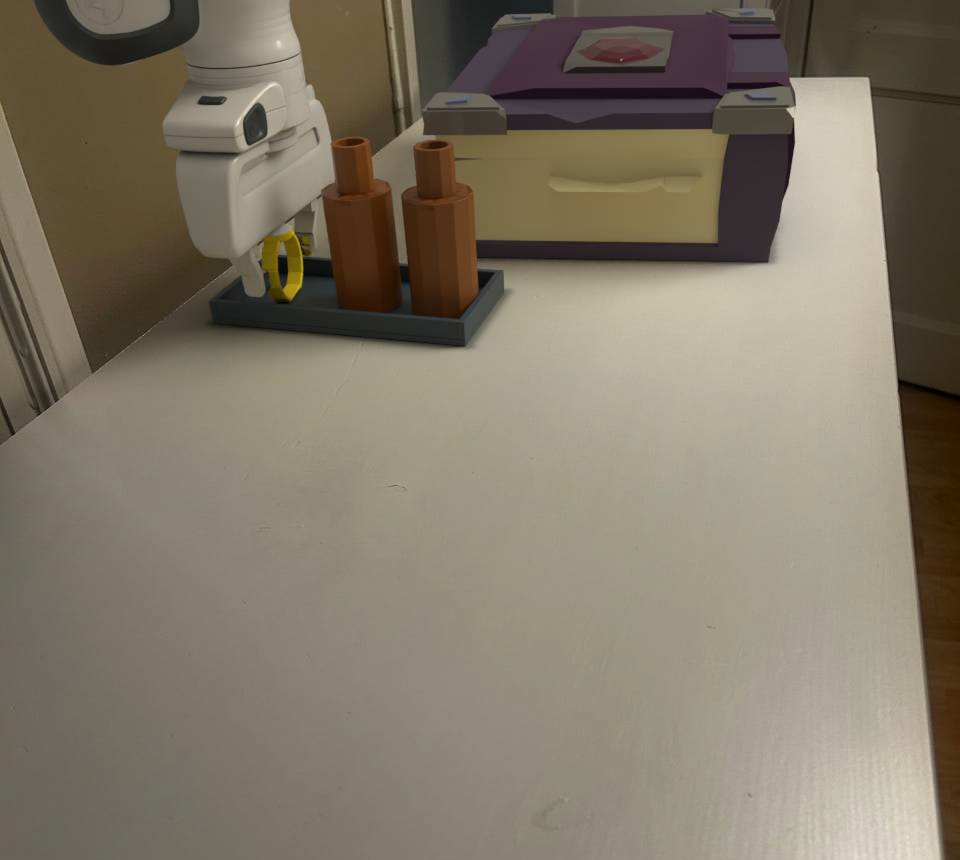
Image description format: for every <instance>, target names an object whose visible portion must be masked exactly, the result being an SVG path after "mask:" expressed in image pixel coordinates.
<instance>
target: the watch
mask: <svg viewBox="0 0 960 860" xmlns="http://www.w3.org/2000/svg"><path fill="white" fill-rule="evenodd" d="M261 242H263V245H262V250H261V259H262V270H268V273H269V282H270V283H271V288H270V290H269V291H268V293H269V295H270V297H271V298H272V299H274V300H275V301H277V302H291V300H292V299H293V297H294V296H295V295H296V293H297V292H298V290H299V289H300V288H302V287H301V286H302V279H303V257H302V252H301V248H300V243H299V241H298V239H297V237H296V235H295V232H294V230H293V227H292V225H290V224H288V223H283V224H282V225H281V226H279V227H278V228H277V229H276V230H274V231H273V232H272V233H270V234H269V235H268V236H267V237H265V238H264V239H263V240H261ZM281 243H283V246H284V249H285V254H286V255H287V261H288V271H289V272H288V276H287V284H286V286H285V288H284V289H282V287H281V283H280V278H279V273H278V255H279V250H280V247H281Z"/></svg>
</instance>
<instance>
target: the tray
mask: <svg viewBox="0 0 960 860" xmlns="http://www.w3.org/2000/svg"><path fill="white" fill-rule="evenodd" d="M302 257H303V279H302V286H301V287H302V288H300V289H299V290H298V292H297V293H296V295H295V296H294V297H293V299H292V300H291V302H277V301H275V300H274V299H272V298H271V297H270V295H269V293H268V292H267V293H266V294H264V295H263V296H262V297H251V296H248V295H247V294H246V293H245V290H244V286H243V281H242V277H241V276H240V275H239V276H238V277H237V278H235V280H233V281H231V282H230V283H229V284H228V285H227V286H225V287H224V288H223V289H221V290H220V291H219V292H218V293H216V294H215V295H214V296H213V297H211V299H209V300H208V304H209V308H210V314H211V317H212V321H213V324H220V325H229V326H231V325H232V326H239V327H240V326H241V327H250V328H251V327H252V328H263V329H274V330H284V331H285V330H286V331H296V332H307V333H319V334H329V335H339V336H340V335H341V336H350V337H360V338H361V337H362V338H372V339H383V340H385V339H386V340H395V341H405V342H417V343H418V342H419V343H427V344H437V345H450V346H461V347H466V346H467V345H468V343H469V341H471V339H472V338H473V336H474V335H475V334H476V332H477V331H478V329H479V328H480V327H481V326H482V325H483V323H484V321H485V320H486V319H487V317H488V316H489V314H490V313H491V312H492V310H493V309H494V307H495V306H496V304H497V303H498V302H499V300H500V299H501V298H502V296H503V295H504V293H505V270H503V269H494V268H493V269H492V268H478V267H477V273H478V292H479V294H478V296H477V297H476V298H475V300H474V301H473V302H472V304H471V305H470V306H469V307H468V309H467V310H466V311H465V313H464V314H463V315H462V317H461V318H460V319H450V318H438V317H426V316H415V315H414V313H413V310H412V302H411V292H410V282H409V272H408V262H407V263H406V262H405V263H404V262H399V266H400V276H401V285H402V295H403V302H402V304H401V305H400V306H399V307H398V308H397V309H395V310H392V311H390V312H387V313H378V312H366V311H354V310H342V309H339V306H338V302H337V295H336V288H335V282H334V275H333V268H332V262H331V257H318V256H304V255H303V256H302ZM257 261H258V263H259V265H260V267H261V269H262V258H260V259H259V260H257ZM288 272H289V271H288V261H287V254H278V273H279V278H280V283H281V287H282V289H284V288H285V286H286V284H287V276H288Z"/></svg>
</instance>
